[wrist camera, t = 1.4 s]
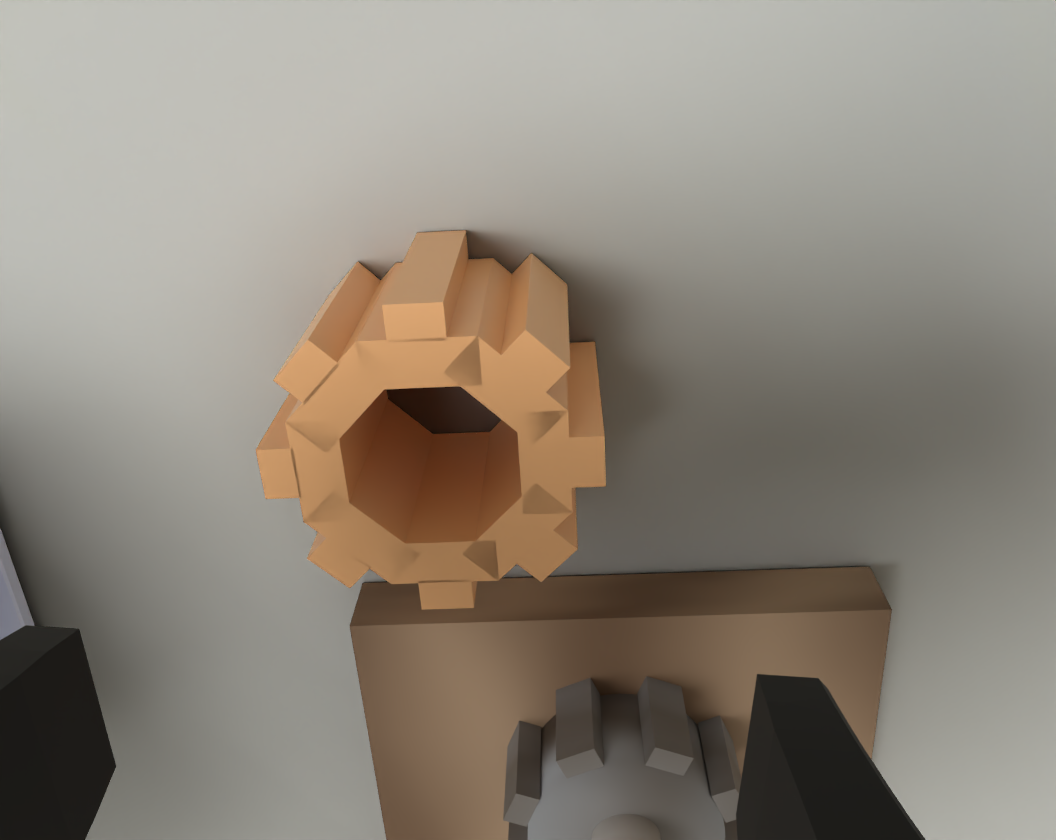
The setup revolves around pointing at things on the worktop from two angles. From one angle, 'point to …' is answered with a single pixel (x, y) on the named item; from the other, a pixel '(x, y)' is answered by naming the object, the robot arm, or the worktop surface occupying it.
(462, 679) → the gear board
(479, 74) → the worktop surface
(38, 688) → the robot arm
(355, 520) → the idler gear
